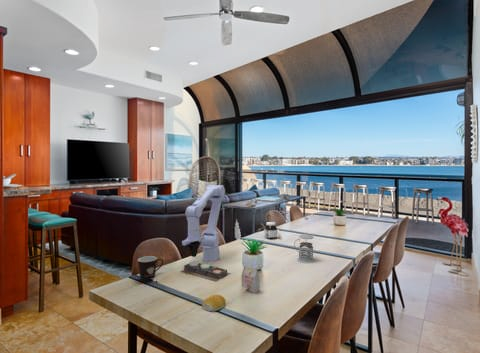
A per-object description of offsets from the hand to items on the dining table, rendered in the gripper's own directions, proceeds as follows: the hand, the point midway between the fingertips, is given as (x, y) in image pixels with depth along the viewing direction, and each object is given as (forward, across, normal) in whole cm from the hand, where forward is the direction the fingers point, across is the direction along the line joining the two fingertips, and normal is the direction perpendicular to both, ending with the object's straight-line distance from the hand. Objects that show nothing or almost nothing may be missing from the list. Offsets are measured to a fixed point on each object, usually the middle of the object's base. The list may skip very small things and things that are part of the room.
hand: (193, 256), depth 147 cm
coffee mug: (+9, +18, -11) cm, 23 cm away
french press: (+8, -49, +40) cm, 64 cm away
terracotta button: (+7, 0, +15) cm, 16 cm away
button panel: (+8, 0, +8) cm, 11 cm away
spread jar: (+8, -86, +2) cm, 86 cm away
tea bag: (+9, +2, +35) cm, 36 cm away
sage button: (+5, 0, +7) cm, 9 cm away
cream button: (+5, 0, 0) cm, 5 cm away
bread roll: (+9, +22, +31) cm, 39 cm away
